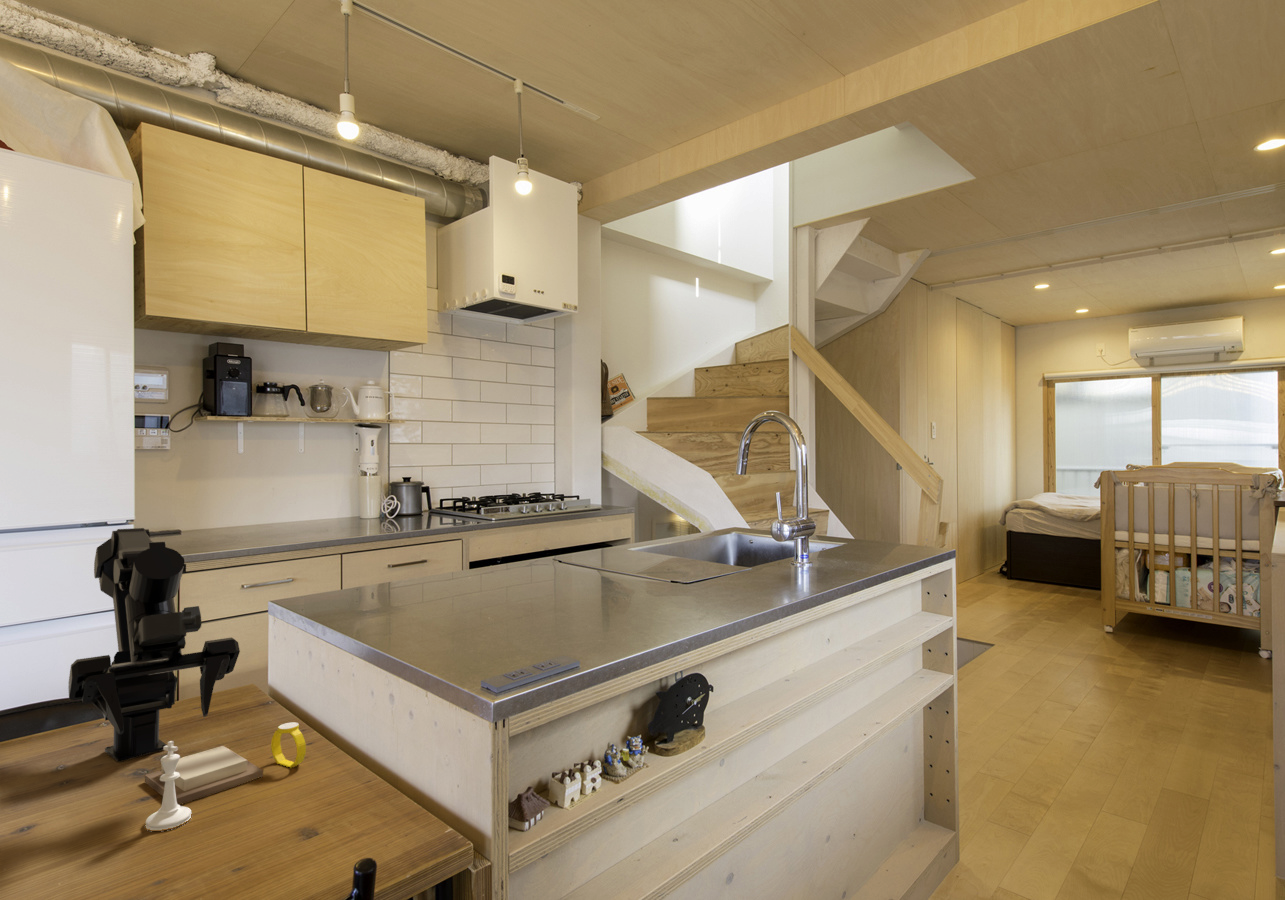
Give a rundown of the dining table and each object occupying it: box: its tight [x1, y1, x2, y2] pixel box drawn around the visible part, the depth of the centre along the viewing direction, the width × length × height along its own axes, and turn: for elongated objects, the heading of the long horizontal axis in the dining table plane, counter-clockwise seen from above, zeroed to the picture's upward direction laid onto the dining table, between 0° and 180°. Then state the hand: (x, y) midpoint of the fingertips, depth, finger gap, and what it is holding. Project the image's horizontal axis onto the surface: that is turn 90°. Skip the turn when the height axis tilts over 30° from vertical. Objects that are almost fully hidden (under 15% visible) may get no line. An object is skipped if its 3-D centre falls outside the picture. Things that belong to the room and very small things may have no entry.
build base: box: [144, 745, 264, 806], centre depth 100 cm, size 11×11×2 cm
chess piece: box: [144, 740, 192, 830], centre depth 88 cm, size 5×5×10 cm
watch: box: [270, 721, 307, 769], centre depth 105 cm, size 6×3×6 cm, turn 64°
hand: (165, 723), depth 92 cm, fingers open, 9 cm apart
